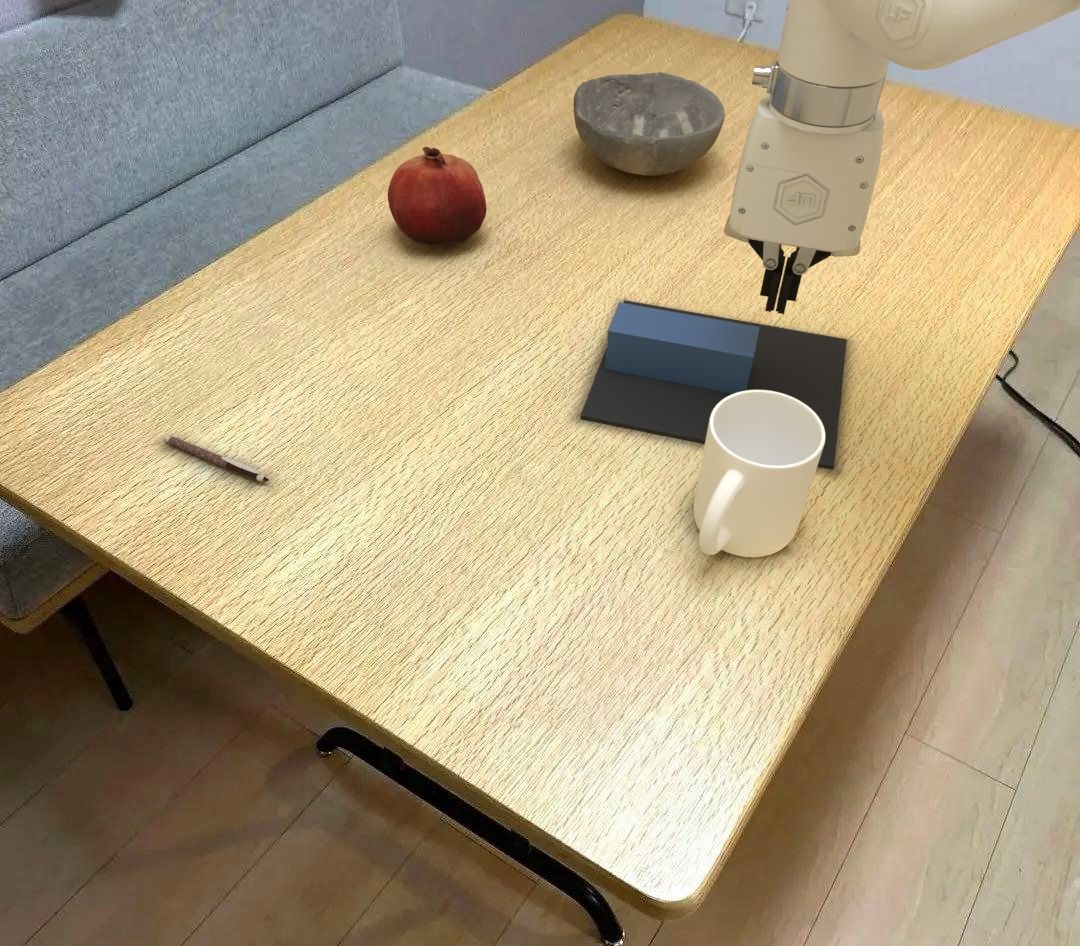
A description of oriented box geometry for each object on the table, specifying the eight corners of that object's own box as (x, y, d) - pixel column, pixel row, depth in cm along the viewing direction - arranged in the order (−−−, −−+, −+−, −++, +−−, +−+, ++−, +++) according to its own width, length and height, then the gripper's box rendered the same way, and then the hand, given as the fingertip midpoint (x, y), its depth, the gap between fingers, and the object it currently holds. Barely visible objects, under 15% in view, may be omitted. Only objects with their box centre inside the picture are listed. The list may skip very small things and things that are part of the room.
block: (759, 326, 85) (619, 302, 88) (753, 357, 82) (608, 330, 85) (751, 365, 88) (615, 340, 91) (745, 396, 85) (605, 369, 88)
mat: (845, 342, 92) (846, 338, 91) (833, 469, 80) (834, 466, 79) (624, 303, 96) (624, 299, 95) (580, 418, 84) (580, 415, 83)
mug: (742, 611, 69) (767, 518, 62) (646, 557, 73) (660, 463, 65) (814, 513, 76) (845, 419, 69) (723, 469, 79) (744, 374, 72)
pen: (272, 480, 78) (269, 472, 77) (266, 487, 77) (263, 478, 77) (166, 436, 81) (163, 428, 81) (160, 442, 81) (157, 433, 80)
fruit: (374, 249, 102) (363, 162, 95) (419, 205, 108) (412, 121, 101) (462, 272, 99) (457, 185, 92) (503, 226, 105) (502, 141, 98)
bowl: (725, 202, 110) (736, 136, 104) (573, 200, 110) (576, 134, 104) (706, 129, 122) (715, 67, 116) (570, 128, 122) (572, 66, 116)
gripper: (712, 99, 66) (681, 313, 79) (934, 129, 63) (863, 346, 77) (728, 57, 71) (696, 265, 84) (934, 83, 68) (868, 294, 82)
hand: (776, 303), depth 80 cm, fingers closed
